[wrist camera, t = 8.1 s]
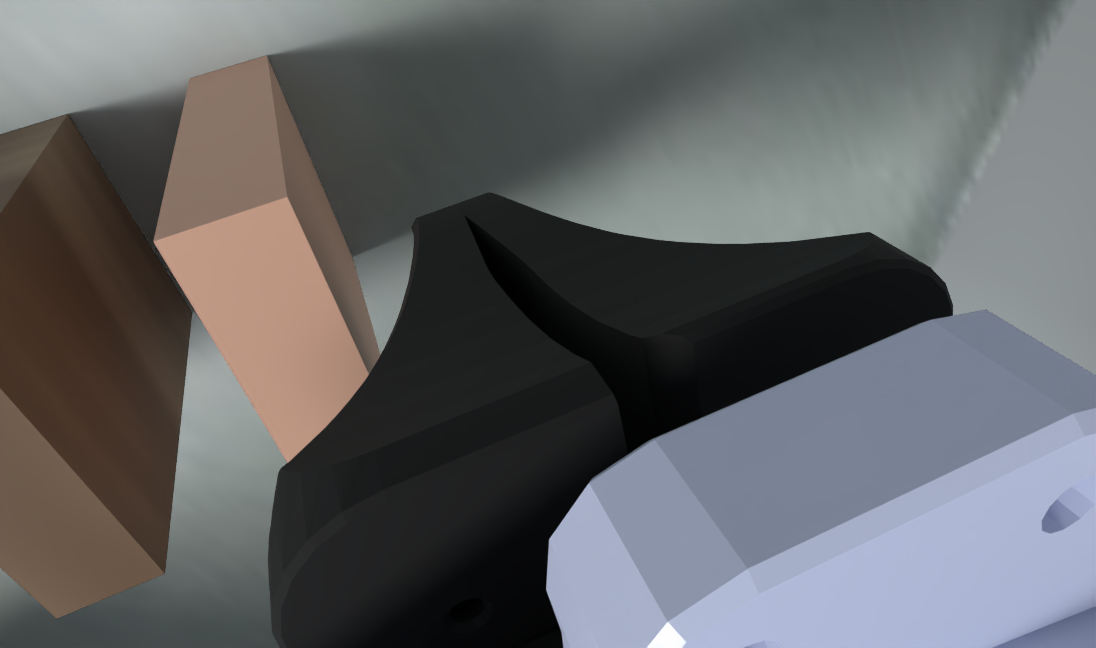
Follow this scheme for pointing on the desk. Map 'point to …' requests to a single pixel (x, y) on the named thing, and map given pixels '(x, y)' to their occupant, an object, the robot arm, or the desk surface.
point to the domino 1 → (82, 377)
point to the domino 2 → (264, 254)
